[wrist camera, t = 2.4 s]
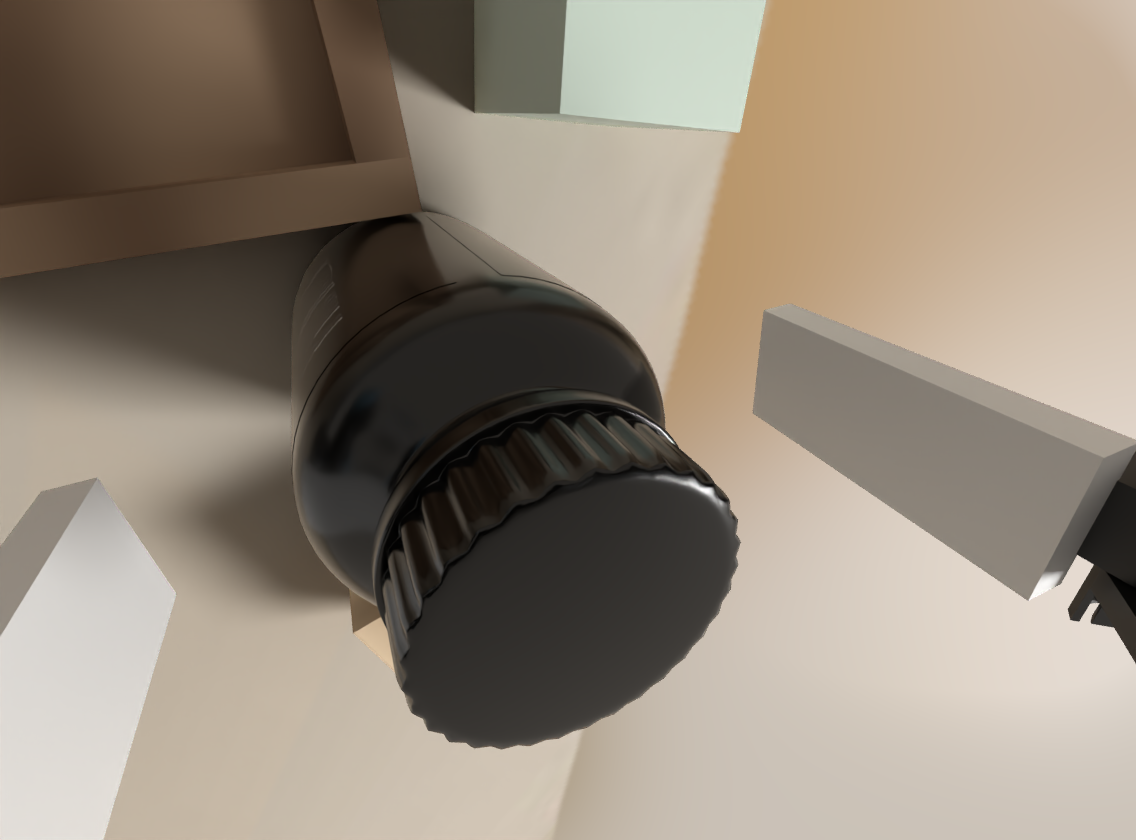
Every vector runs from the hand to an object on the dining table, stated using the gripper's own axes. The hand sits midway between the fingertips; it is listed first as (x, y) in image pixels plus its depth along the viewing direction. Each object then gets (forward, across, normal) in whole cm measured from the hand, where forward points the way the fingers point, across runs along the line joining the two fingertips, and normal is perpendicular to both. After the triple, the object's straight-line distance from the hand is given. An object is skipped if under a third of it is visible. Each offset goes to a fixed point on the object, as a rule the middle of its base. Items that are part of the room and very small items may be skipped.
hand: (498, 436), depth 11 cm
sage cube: (+7, +4, +7) cm, 11 cm away
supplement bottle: (+7, 0, 0) cm, 7 cm away
